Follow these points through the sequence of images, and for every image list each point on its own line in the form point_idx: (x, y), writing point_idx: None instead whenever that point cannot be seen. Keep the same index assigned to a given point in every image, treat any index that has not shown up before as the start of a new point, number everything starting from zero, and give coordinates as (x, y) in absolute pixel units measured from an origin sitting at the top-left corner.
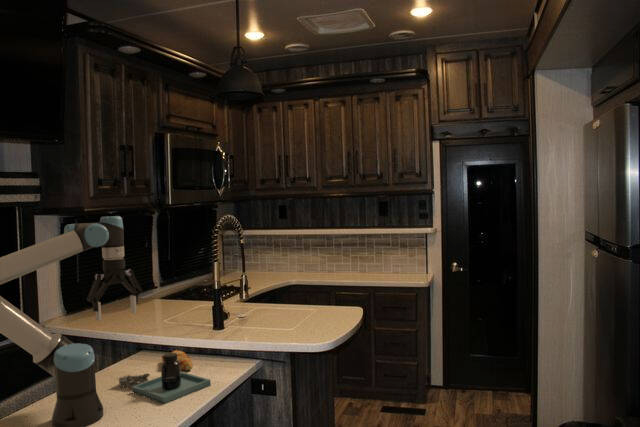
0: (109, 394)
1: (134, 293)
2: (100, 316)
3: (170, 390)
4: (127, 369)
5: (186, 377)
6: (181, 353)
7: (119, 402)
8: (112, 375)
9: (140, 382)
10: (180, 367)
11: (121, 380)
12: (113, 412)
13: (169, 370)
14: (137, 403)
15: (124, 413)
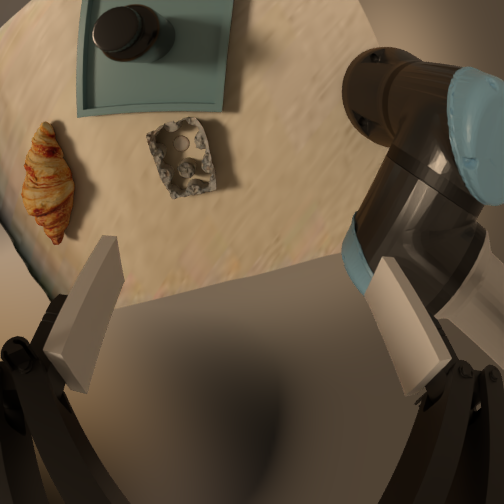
0: (259, 154)
1: (45, 378)
2: (398, 275)
3: (170, 19)
4: (136, 263)
5: (86, 69)
6: (28, 188)
7: (285, 83)
8: (177, 259)
9: (187, 120)
10: (57, 146)
11: (212, 173)
12: (333, 48)
13: (154, 10)
14: (267, 35)
15: (326, 19)
